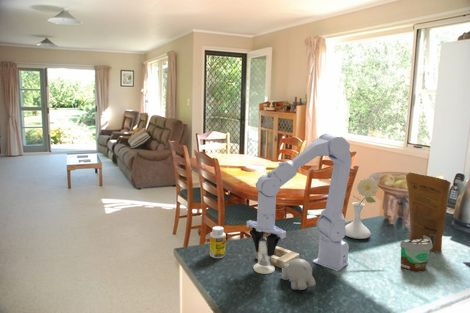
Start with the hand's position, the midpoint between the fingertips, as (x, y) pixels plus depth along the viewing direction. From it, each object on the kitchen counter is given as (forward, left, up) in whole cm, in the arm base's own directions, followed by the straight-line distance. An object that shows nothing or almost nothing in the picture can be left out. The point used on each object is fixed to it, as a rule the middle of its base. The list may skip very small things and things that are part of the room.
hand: (264, 253), depth 120 cm
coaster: (0, 0, -6) cm, 6 cm away
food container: (-37, -37, -6) cm, 52 cm away
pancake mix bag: (-32, -61, -6) cm, 69 cm away
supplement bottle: (+18, +3, -6) cm, 19 cm away
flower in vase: (-10, -51, -6) cm, 52 cm away
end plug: (0, 0, -3) cm, 4 cm away
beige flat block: (+1, -9, -6) cm, 11 cm away
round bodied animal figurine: (-13, +2, -6) cm, 14 cm away
